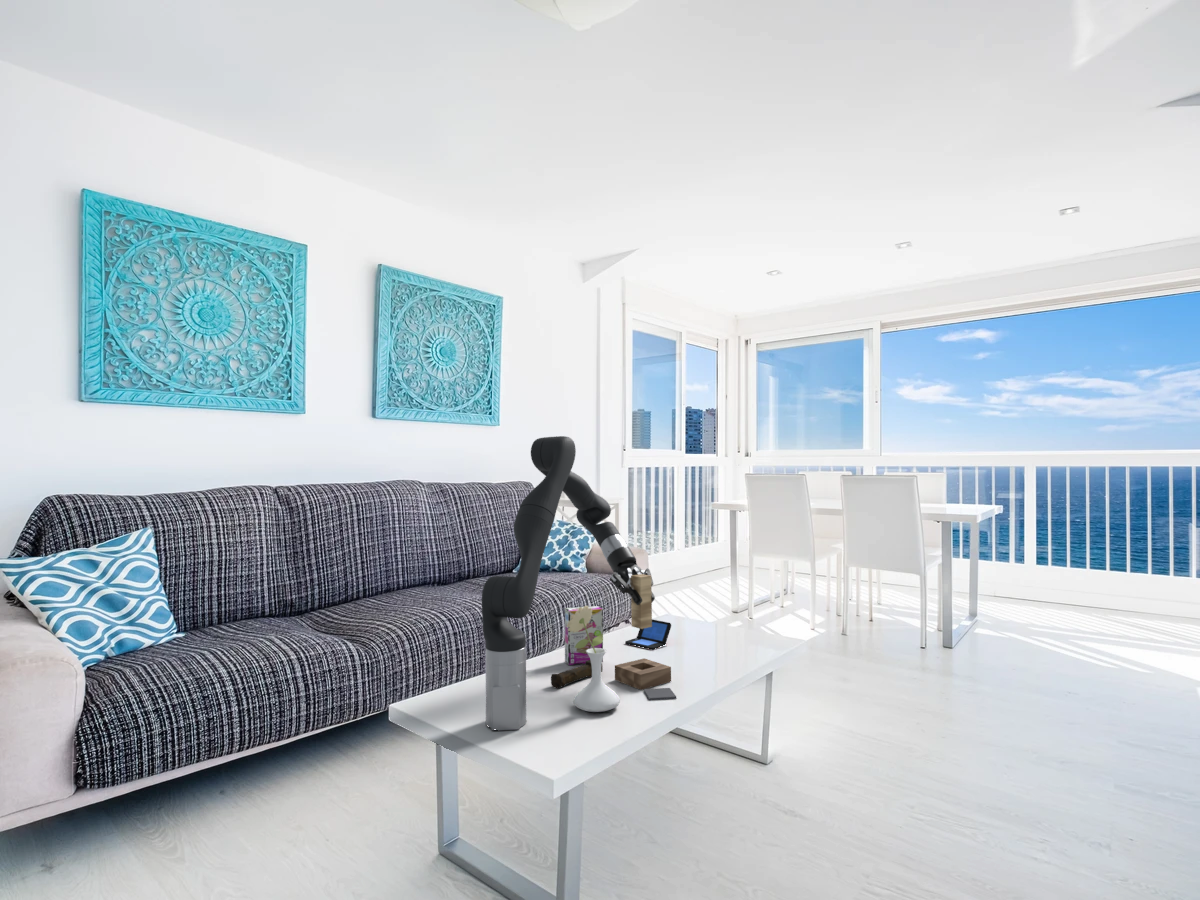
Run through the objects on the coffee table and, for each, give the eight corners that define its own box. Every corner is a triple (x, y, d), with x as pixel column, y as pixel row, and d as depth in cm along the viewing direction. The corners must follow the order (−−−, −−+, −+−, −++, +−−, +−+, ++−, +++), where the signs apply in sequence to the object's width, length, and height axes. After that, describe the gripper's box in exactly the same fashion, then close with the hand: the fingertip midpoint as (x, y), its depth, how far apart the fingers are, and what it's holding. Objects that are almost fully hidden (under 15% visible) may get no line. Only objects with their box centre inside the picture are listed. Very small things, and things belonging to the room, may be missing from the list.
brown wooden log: (559, 690, 168) (559, 673, 168) (549, 687, 171) (549, 669, 171) (609, 675, 182) (609, 658, 182) (599, 672, 184) (599, 655, 185)
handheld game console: (623, 645, 215) (623, 622, 215) (644, 639, 222) (643, 617, 223) (652, 651, 206) (652, 628, 206) (672, 645, 214) (672, 622, 214)
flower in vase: (606, 697, 162) (605, 598, 163) (628, 711, 152) (627, 605, 153) (559, 705, 156) (558, 603, 157) (579, 721, 146) (578, 611, 147)
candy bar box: (568, 666, 190) (568, 610, 190) (564, 661, 194) (563, 607, 195) (604, 662, 193) (603, 608, 194) (599, 658, 198) (598, 605, 199)
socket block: (671, 681, 174) (670, 666, 174) (641, 690, 167) (640, 674, 167) (644, 672, 182) (644, 658, 183) (614, 680, 176) (614, 665, 176)
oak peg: (651, 626, 175) (651, 575, 176) (641, 628, 173) (640, 577, 173) (642, 624, 178) (641, 574, 179) (631, 626, 176) (630, 575, 177)
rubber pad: (676, 698, 160) (676, 696, 160) (649, 700, 159) (649, 698, 159) (669, 689, 167) (669, 687, 167) (643, 691, 166) (643, 689, 166)
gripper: (604, 547, 178) (632, 596, 168) (642, 543, 187) (671, 590, 177) (593, 564, 182) (620, 613, 172) (630, 560, 191) (658, 607, 181)
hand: (646, 601), depth 174 cm, fingers closed on oak peg, 4 cm apart
